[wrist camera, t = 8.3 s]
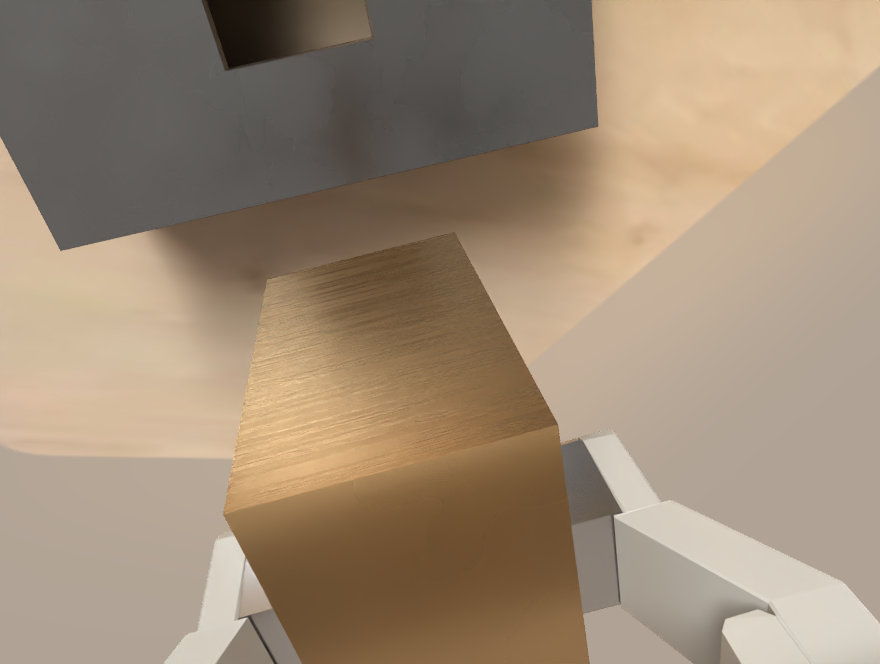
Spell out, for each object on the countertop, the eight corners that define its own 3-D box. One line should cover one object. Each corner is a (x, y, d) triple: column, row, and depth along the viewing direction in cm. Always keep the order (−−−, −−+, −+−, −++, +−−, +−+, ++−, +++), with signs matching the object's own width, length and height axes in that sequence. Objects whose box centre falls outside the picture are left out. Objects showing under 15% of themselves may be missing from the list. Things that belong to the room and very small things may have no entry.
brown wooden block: (454, 231, 10) (558, 424, 6) (514, 535, 13) (608, 798, 9) (266, 279, 10) (222, 514, 5) (378, 573, 13) (405, 858, 9)
